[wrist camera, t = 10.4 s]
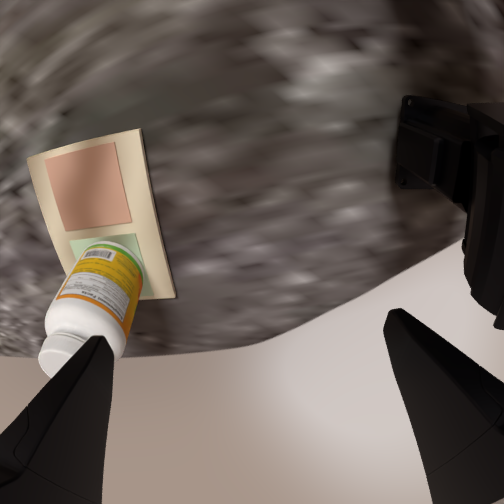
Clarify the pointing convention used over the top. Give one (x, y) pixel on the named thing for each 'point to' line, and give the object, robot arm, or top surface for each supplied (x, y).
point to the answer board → (103, 203)
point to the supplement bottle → (93, 304)
